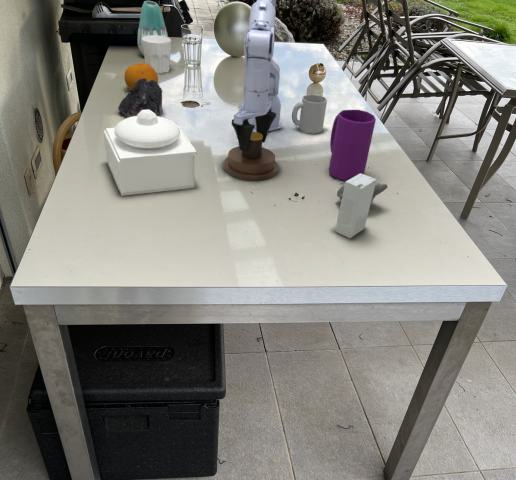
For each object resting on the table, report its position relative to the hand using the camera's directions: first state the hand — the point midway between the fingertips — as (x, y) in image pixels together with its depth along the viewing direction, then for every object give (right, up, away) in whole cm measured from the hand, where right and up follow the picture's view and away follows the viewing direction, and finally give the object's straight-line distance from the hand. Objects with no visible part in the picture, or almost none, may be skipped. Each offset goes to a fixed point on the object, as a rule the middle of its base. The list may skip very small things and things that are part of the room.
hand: (252, 145), depth 133 cm
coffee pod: (0, -2, +2) cm, 2 cm away
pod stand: (0, -4, +4) cm, 6 cm away
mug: (+23, -3, +8) cm, 25 cm away
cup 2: (+16, +15, +27) cm, 34 cm away
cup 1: (-35, +49, +58) cm, 84 cm away
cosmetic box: (+22, -25, -15) cm, 37 cm away
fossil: (+25, -17, -7) cm, 31 cm away
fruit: (-37, +33, +41) cm, 64 cm away
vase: (-38, +60, +70) cm, 100 cm away
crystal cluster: (-33, +19, +26) cm, 47 cm away
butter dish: (-25, -9, -3) cm, 26 cm away
